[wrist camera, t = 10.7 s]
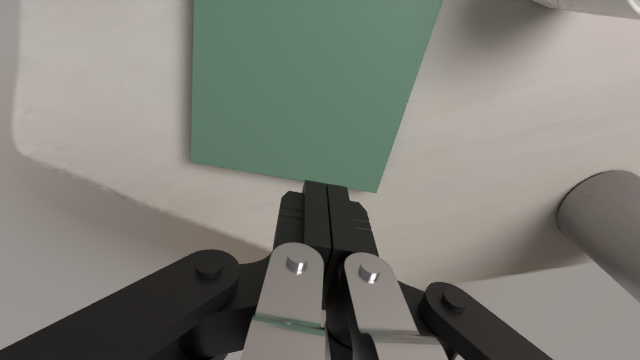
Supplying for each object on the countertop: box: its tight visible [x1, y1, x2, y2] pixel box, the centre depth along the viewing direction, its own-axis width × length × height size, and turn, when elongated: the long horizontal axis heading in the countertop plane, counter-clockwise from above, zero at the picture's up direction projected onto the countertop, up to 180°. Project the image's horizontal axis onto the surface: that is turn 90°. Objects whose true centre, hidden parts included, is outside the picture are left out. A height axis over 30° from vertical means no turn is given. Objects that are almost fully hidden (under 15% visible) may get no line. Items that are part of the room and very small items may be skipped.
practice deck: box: [191, 0, 443, 193], centre depth 20 cm, size 18×26×14 cm
